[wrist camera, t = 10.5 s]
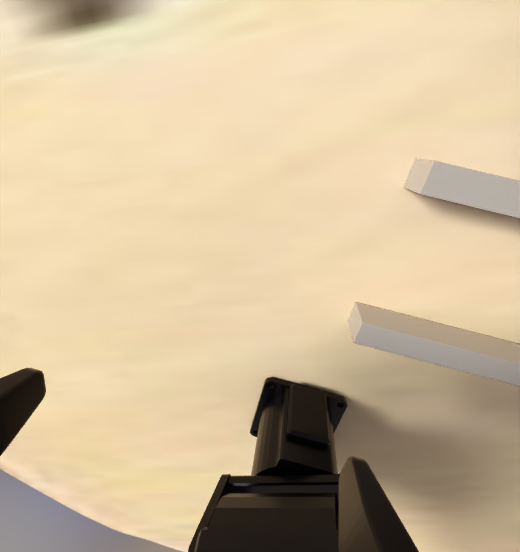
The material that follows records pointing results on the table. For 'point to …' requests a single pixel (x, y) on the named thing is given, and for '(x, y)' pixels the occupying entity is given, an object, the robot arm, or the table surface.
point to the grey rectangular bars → (434, 336)
